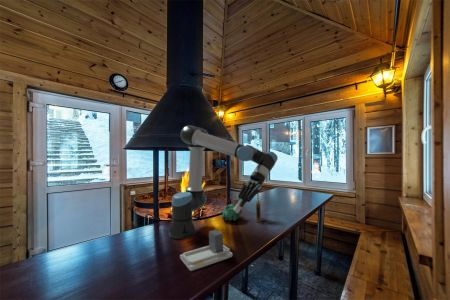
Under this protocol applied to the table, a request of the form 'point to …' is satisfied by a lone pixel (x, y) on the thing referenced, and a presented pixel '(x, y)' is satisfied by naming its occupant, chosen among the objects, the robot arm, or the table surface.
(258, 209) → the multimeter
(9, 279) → the table surface
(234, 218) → the mineral
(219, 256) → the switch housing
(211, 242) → the switch tab
